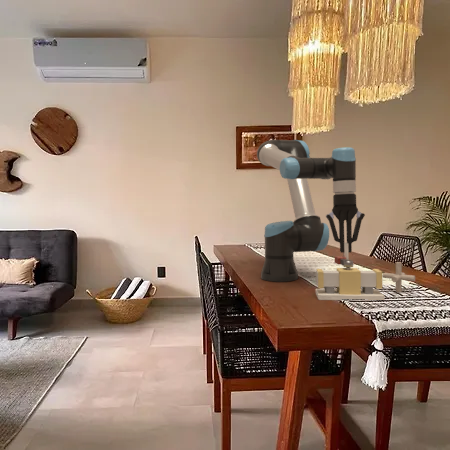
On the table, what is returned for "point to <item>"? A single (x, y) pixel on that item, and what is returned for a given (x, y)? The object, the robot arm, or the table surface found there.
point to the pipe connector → (398, 277)
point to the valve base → (349, 284)
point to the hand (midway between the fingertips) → (346, 261)
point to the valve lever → (343, 261)
